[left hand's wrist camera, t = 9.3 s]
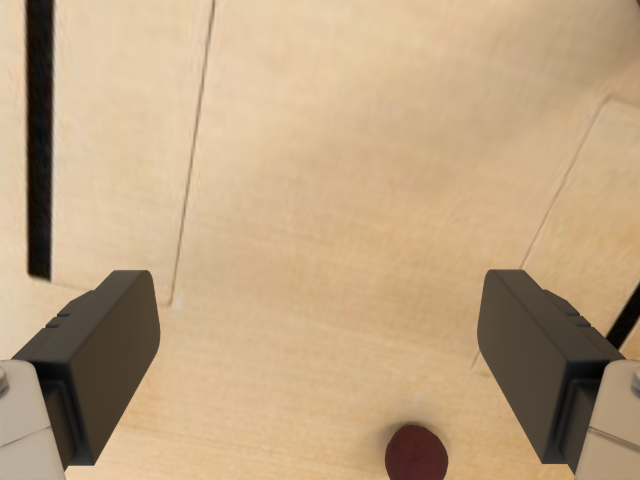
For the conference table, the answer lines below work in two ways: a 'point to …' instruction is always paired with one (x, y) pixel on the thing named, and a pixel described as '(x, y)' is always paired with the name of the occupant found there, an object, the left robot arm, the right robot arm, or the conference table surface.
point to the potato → (416, 455)
